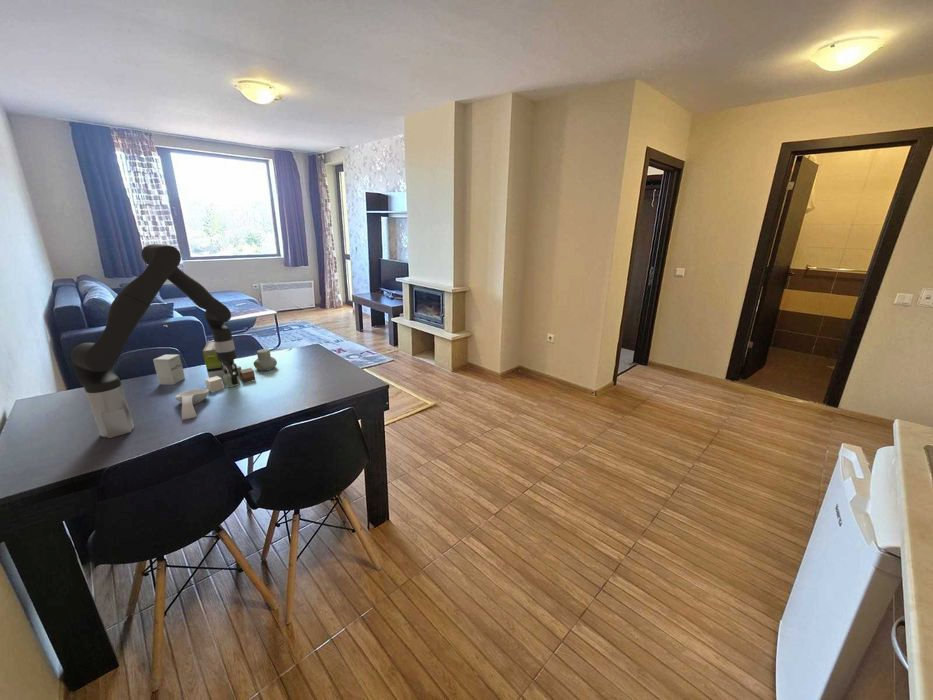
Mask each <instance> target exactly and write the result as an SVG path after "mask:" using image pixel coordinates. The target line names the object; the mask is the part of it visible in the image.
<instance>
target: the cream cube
mask: <svg viewBox="0 0 933 700" xmlns="http://www.w3.org/2000/svg"><path fill="white" fill-rule="evenodd" d="M204 381H205V385H206V389H208V390H209V392H211V393H212V392H217V391H220V390H223V389H224V383H223V382H224V380H223V377H218V376H215V377H211V378H209V377H208V378H205V379H204Z"/></svg>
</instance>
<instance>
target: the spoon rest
mask: <svg viewBox="0 0 933 700" xmlns="http://www.w3.org/2000/svg"><path fill="white" fill-rule="evenodd" d="M209 393H210V390H208V389H207V388H196V389H190V390H186V391H183V392H180V393H178V394H177V395H175V397H174V398H175V400H177V401H178V402H179V403H181V419H182V420H183V421H184V420H190V419H194V418H197V417H198V415H197V412H196V409H195V408H194V407H195V406H194V405H197V404H199V403H202V402H203V401H204V400H205V399H206V398H207V396H208V395H209Z"/></svg>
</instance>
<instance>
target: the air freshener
mask: <svg viewBox="0 0 933 700" xmlns="http://www.w3.org/2000/svg"><path fill="white" fill-rule="evenodd" d="M256 356H257V359H255V360H254V361H253V366H254V368H255V369H257V370H258V371H261V370H265V371H269V369H270V370H272V369H274V368H275V367H276V366H277V364H278V362H277V359H276V358H274V357H273V356H272V355H271V350H270V349H268V348H264V349H259V350H257V351H256Z"/></svg>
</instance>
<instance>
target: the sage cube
mask: <svg viewBox="0 0 933 700" xmlns="http://www.w3.org/2000/svg"><path fill="white" fill-rule="evenodd" d="M234 374H235V373H234V372H233V375H234ZM222 380H223V382H224V383H223V384H224V385H225V386H226V387H228V388H231V387H235V386H238V385H240V384H241V382H240V381H241V379H240V377H239V376H237V380H238V384H236V385H233V384H232V380H231V377H230V374H228V373H227V374H223V377H222Z"/></svg>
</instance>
